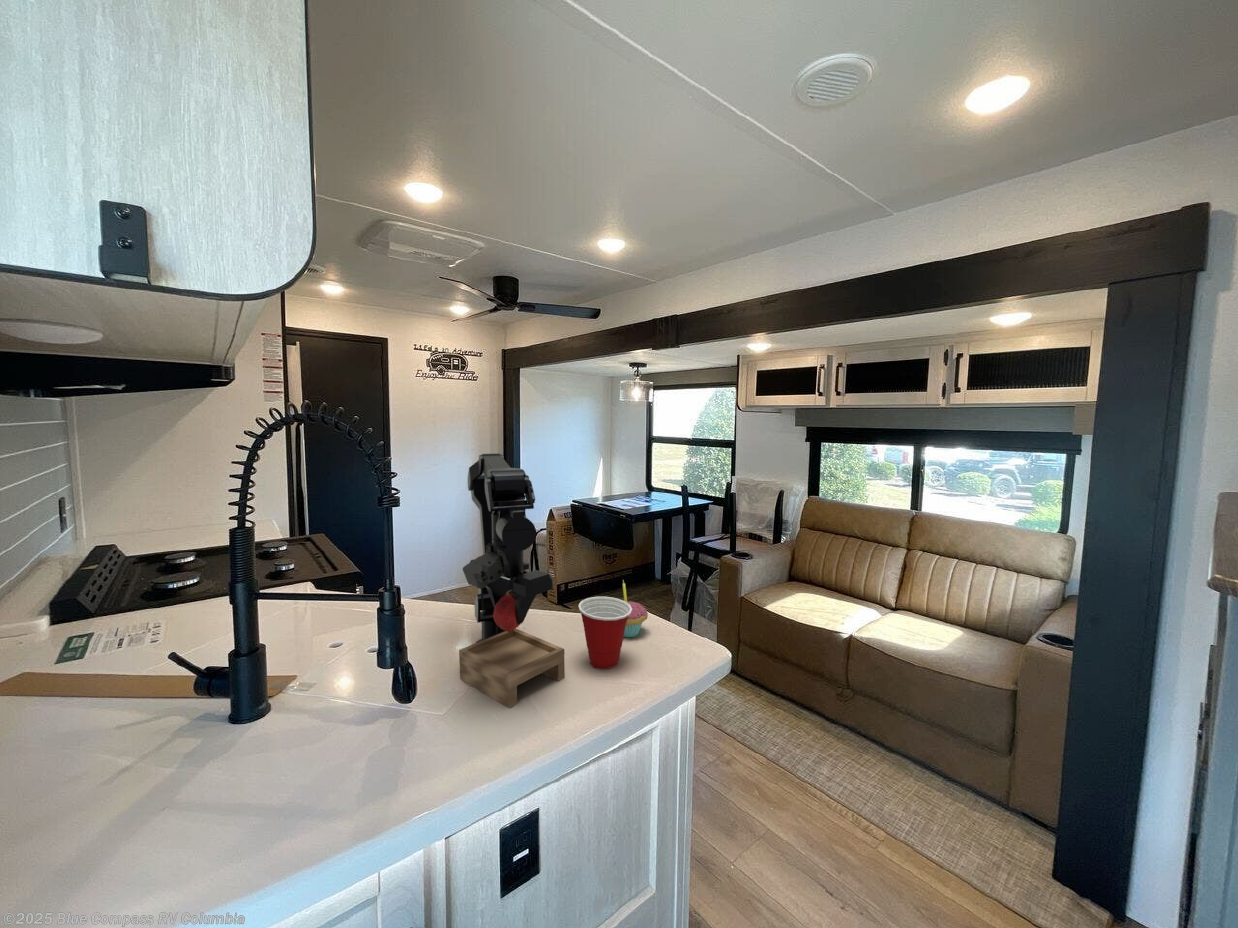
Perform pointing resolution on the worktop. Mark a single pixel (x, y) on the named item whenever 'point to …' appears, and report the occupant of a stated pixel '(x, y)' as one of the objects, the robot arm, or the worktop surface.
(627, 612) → the plastic cup
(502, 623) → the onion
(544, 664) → the shelf
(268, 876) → the worktop surface
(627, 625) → the cupcake
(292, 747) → the worktop surface
